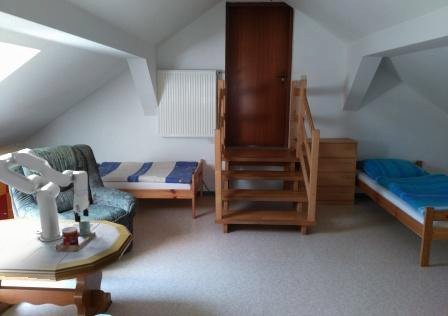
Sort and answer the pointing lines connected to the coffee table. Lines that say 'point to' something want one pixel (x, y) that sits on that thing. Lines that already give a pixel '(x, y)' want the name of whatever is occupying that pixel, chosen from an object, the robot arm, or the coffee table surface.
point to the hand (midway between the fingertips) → (82, 218)
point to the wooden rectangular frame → (84, 231)
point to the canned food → (70, 236)
